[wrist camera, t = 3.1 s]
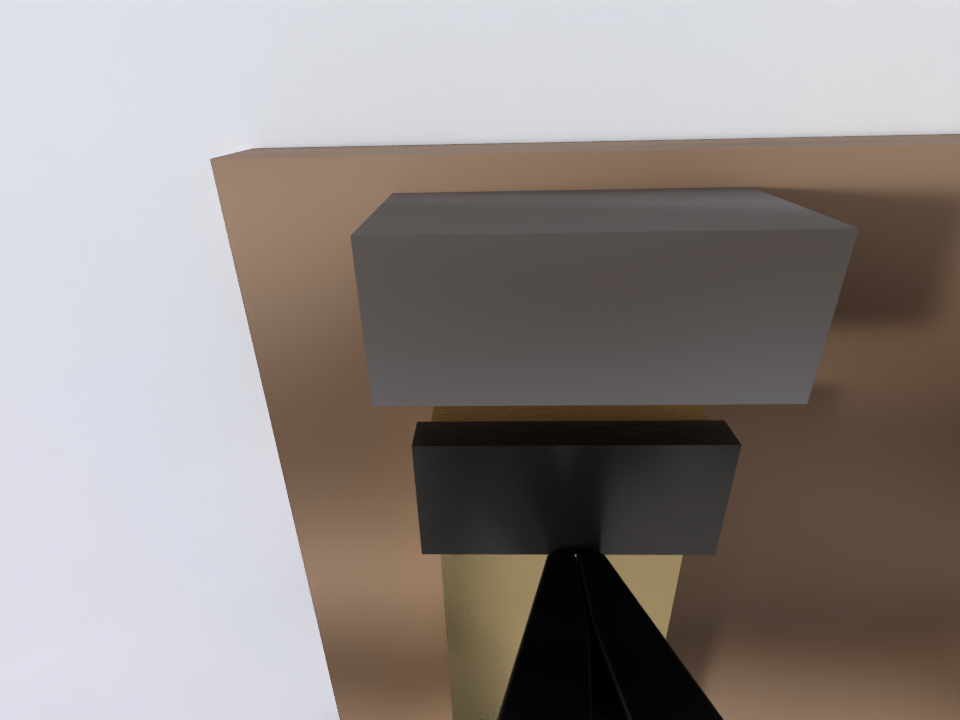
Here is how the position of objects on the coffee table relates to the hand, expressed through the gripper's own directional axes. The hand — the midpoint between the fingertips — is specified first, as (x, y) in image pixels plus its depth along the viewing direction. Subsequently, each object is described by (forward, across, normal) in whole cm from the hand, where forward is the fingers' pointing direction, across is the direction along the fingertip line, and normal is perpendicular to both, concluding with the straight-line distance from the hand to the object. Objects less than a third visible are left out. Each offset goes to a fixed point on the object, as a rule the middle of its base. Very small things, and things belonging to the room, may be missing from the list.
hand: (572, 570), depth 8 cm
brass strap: (+1, 0, +6) cm, 6 cm away
